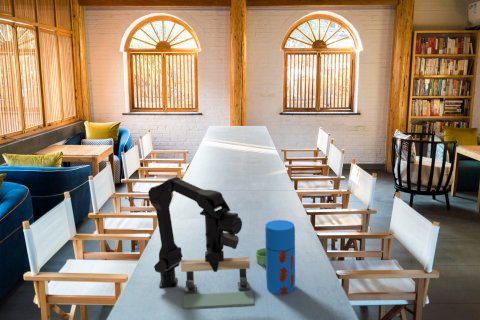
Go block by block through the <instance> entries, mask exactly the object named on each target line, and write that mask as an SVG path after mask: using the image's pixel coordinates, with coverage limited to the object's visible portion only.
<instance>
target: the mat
mask: <svg viewBox="0 0 480 320" xmlns="http://www.w3.org/2000/svg"><path fill="white" fill-rule="evenodd" d="M254 305H255V300H254V295H253V291H251V290H250V291H249V290H247V291H233V292H232V291H229V292H214V293H213V292H212V293H198V294H197V293H191V294H184V296H183V304H182V309H183V310H185V309H186V310H187V309H200V308H202V309H203V308H205V307H206V308H221V307H236V306H237V307H238V306H240V307H241V306H242V307H243V306H254Z"/></svg>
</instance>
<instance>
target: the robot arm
mask: <svg viewBox="0 0 480 320" xmlns="http://www.w3.org/2000/svg"><path fill="white" fill-rule="evenodd" d="M174 192H176V193H178V194H180V195H181V196H183V197H186V198H187V199H189V200H192V201H194V202H195V203H196V204H197V205H198V207H200V208H201V209H202V210H201V211H200V212H199V215H201V216H204V223H205V224H204V225H205V227H204V228H205V249H206V251H205V253H204V259H205V262H209V263H210V265H211V267H212V269H213V270H212V271H213V273H217V272H218V270H217V269H218V264H219V262H222V261H224V258H225V255H224V246H225V247H229V248H231V249H232V250H236V249H237V247H238V245H239V242H240V239H239V236H238V234H239V233H240V232H241V231H242V228H243V221H242V219H241V218H240V217H239V213H236V212H231V208H230V206H229V205H228V203H227V201H226V200H225V198H224V197H223V194H222V193H221V192H220V191H217V190H213V189H204V188H201V187H198V186H196V185H194V184H191V183H190V182H187V181H185V180H183V179H181V178H180V177H178V176H174V177H171V178H168V179H167V180H165V181H164V182H162V183H160V184H158V185H155V186H152V187H150V188H149V190H148V198H149V201H150V204H151V205H152V206H153V208H154V209H155V213H156V218H157V219H156V220H157V225H158V231H159V237H160V244H161V246H160V249H159V252H158V262H157V263H155V265H154V266H153V268H154V270H155V272H156V273H159V275H160V281H159V285H158V287H159V288H170V287H171V288H173V287H177V285H178V284H177V283H178V277H176V268H177V267H180V265H181V260H183V257H184V256H183V254H182V247H180V246H178V245H177V244H176V242H175V237H174V231H173V225H172V218H171V211H170V205H171V203H172V199H173V196H172V195H173V193H174ZM216 209H217V210H216Z"/></svg>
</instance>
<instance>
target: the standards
mask: <svg viewBox="0 0 480 320" xmlns="http://www.w3.org/2000/svg"><path fill="white" fill-rule="evenodd" d="M238 271H239V281H237V289H238V291H249V290H250V285H249V281H248V277H247V269H238ZM185 273H186V280H185V288H184V294H197V293H196V291H197V284H195V274H194V273H195V271H189V272H185Z"/></svg>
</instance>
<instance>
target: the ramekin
mask: <svg viewBox="0 0 480 320" xmlns="http://www.w3.org/2000/svg"><path fill="white" fill-rule="evenodd" d="M255 257H256V262H257V264H258V265H260V266H265V267H266V247H264V248H259V249H257V250H256V251H255Z"/></svg>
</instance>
